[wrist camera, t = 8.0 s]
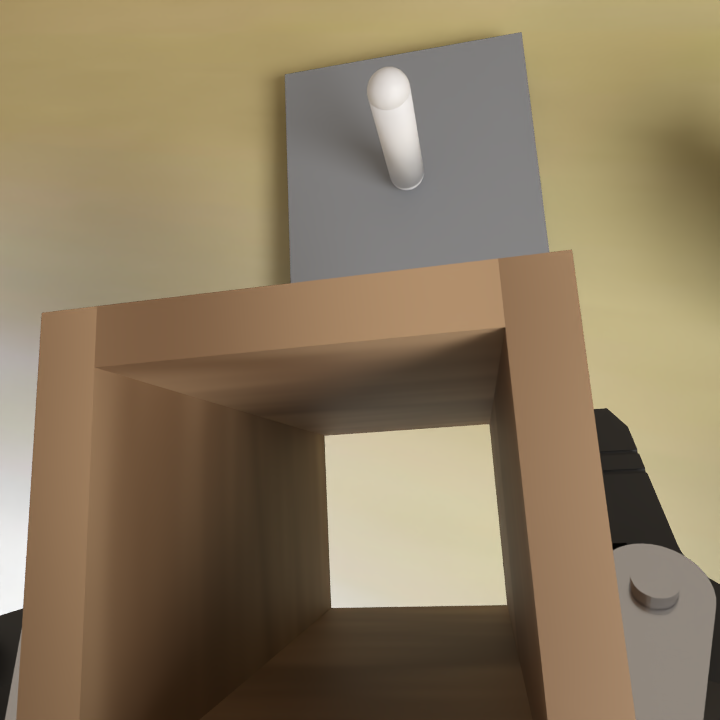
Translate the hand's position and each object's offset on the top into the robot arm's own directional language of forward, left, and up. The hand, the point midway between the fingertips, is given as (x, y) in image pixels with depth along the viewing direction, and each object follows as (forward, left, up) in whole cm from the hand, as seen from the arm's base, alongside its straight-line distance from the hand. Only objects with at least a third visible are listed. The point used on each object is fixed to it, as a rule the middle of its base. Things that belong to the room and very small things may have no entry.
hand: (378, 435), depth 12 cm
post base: (0, -13, -16) cm, 21 cm away
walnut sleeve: (0, +2, -4) cm, 5 cm away
